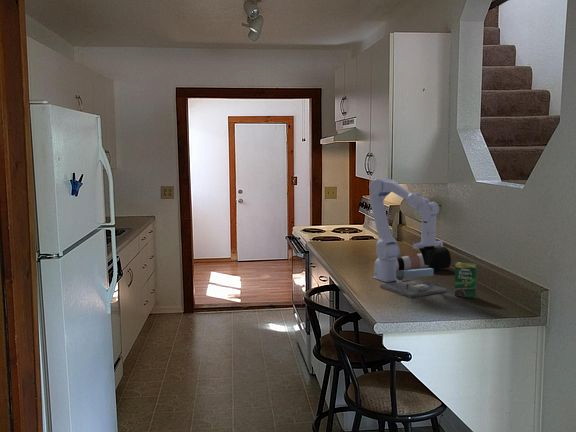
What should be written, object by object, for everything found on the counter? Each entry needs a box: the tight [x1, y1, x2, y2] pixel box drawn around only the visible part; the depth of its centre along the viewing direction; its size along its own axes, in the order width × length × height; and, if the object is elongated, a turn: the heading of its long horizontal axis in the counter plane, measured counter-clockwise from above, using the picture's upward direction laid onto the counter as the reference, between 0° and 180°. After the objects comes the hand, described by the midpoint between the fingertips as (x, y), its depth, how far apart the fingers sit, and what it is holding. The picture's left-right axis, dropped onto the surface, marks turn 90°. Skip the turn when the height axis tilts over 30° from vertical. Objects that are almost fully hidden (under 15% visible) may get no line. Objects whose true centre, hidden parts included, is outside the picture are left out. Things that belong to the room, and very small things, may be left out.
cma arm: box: [396, 268, 435, 279], centre depth 225 cm, size 18×3×3 cm, turn 111°
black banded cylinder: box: [396, 246, 452, 271], centre depth 251 cm, size 10×34×10 cm, turn 100°
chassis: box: [379, 278, 448, 299], centre depth 218 cm, size 18×19×3 cm
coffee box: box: [454, 261, 478, 299], centre depth 207 cm, size 8×3×13 cm, turn 58°
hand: (427, 264), depth 219 cm, fingers closed
